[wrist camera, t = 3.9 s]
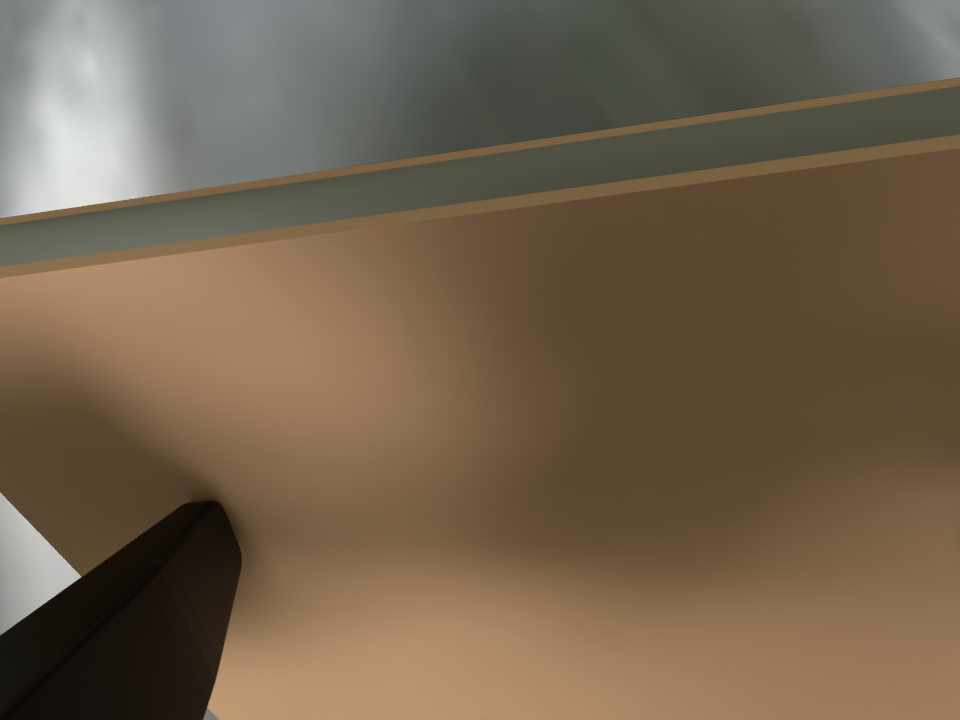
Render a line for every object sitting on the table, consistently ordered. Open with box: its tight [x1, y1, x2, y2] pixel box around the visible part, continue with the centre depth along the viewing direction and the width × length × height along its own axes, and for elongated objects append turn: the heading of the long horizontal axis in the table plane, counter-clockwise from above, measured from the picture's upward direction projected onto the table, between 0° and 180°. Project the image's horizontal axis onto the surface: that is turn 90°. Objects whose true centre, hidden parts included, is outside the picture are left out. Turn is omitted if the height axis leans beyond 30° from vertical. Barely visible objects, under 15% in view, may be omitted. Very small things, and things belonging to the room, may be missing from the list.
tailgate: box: [0, 78, 960, 720], centre depth 11 cm, size 1×14×14 cm
